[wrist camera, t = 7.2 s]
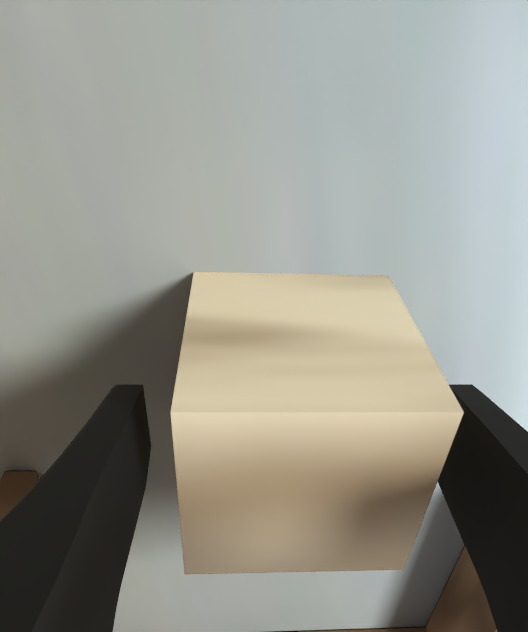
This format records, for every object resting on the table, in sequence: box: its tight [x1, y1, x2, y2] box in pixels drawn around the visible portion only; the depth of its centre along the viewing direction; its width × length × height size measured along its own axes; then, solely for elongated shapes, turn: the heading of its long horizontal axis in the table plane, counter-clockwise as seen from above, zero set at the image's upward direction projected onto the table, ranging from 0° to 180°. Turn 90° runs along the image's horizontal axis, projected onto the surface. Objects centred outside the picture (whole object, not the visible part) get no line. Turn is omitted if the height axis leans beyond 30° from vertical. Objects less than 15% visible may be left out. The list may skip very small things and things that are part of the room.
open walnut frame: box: [0, 471, 497, 632], centre depth 19 cm, size 13×18×3 cm
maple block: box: [170, 272, 464, 574], centre depth 11 cm, size 5×5×5 cm
